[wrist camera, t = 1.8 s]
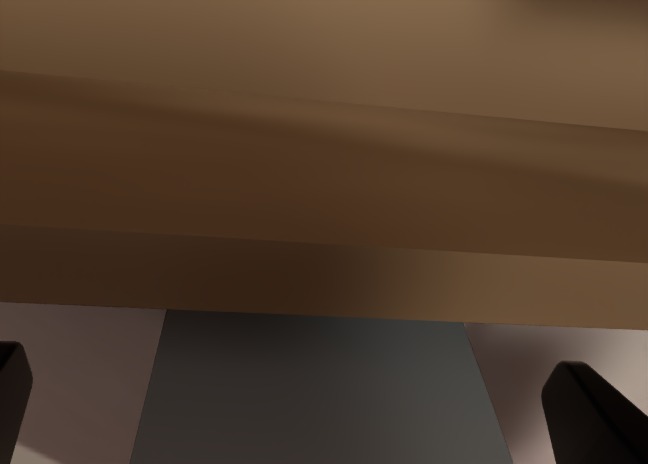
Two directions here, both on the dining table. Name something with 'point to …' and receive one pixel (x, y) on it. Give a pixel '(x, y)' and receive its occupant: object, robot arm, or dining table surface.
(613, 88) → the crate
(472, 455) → the block
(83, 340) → the dining table surface
